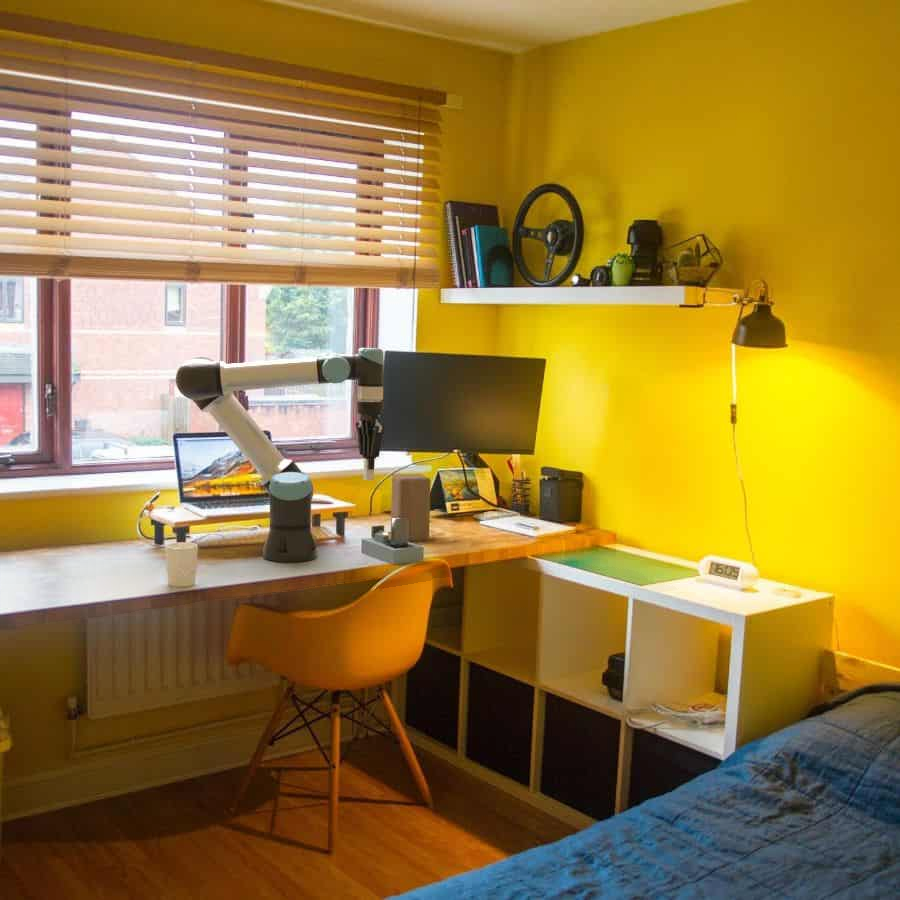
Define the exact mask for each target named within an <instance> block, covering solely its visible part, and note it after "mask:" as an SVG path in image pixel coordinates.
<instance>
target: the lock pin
mask: <svg viewBox="0 0 900 900" xmlns="http://www.w3.org/2000/svg"><path fill="white" fill-rule="evenodd" d="M388 532H389V531H385V525H380V524H379V525H371V535H370V536H371V537H370V538H374V536H375V533H381V534H384V535H387V536H388V542H391V533H388Z"/></svg>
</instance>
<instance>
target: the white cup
mask: <svg viewBox="0 0 900 900" xmlns="http://www.w3.org/2000/svg"><path fill="white" fill-rule="evenodd" d="M165 561H166V575H167V585H168V586H170V587H175V588H176V587H177V588H184V587H191V586H194V585H195V584H196V577H197V576H196V575H197V565H198V564H197V563H198V544H197V543H196V542H195V543H194V542H185V541H180V542H170V543H167V544H165Z"/></svg>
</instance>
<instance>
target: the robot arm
mask: <svg viewBox="0 0 900 900" xmlns="http://www.w3.org/2000/svg"><path fill="white" fill-rule="evenodd" d="M384 363H385V359H384V351H383V349H381V348H378V347H377V348H376V347H360V348H358V352H357V353H356V354H344V353H343V354H342V353H320V354H318V355H317V356H315V357H302V358H291V359H290V358H289V359H276V360H266V361H255V362H254V361H253V362H242V363H241V362H238V363H228V364H227V363H225V362H224V361H222V360H220V361H218V360H216V361H215V360H213V359H212V358H208V357H206V356H205V357H202V356H200V357H195V358H192V359H190V360H187V361H185V362H184V363H183V364H181V365H180V367H179V368H178V370H177V372H176V376H175V385H176V387H177V389H178V391H179V393H180V394H181V395H183V397H185V398H187V399H189V400H192V401H193V403H194V404H195V405H196V407H198V408H199V410H200V411H201V412H204V413H209V414H210V415H211V416H212V418H214V420H215V421H216V422H217V423H218V425H219V426H220V427H221V429H222V430H223V431H224V432H225V433H226V434H227V436H228V438H230V440H231V441H232V442H233V443H234V445H235V446H236V448H238V449H239V451H240V452H241V453H242V455H243V456H244V457H245V458H246V459H247V460H248V462H249V463H250V464H251V466H252V467H253V469H255V471H257V474H259V476H260V478H261V481H260V484H261V486H262V487H263V489H264V490H265V491H266V492H267V494H268V495H269V531H268V534H267V537H266V539H265V543H264V546H263V549H262V554H263V555H262V557H263V559H265V560H267V561H271V562H272V561H273V562H279V563H280V562H281V563H282V562H283V563H297V562H298V563H299V562H307V561H312V560H314V559H316V558H317V556H318V549H317V545H316V542H315V539H314V536H313V533H312V500H313V496H314V484H313V482H312V479H311V477H310V476H309V475H308V474H306V473H305V472H304V471H302V470H301V469H300V467H299V466H298V465H297V464H296V463H295V461H294V460H293V459H288V458H285V457H284V456H283V455H282V454H281V452H280V451H279V449H277V448H276V446H275V444H273V442H272V441H271V440H270V439H269V437H268V436H267V435H266V433H265V432H264V431H263V430H262V429H261V427H260V426H259V425H258V423H256V421H255V420H254V419H253V417H252V416H251V415H250V414H249V412H248V411H247V410H246V408H245V407H244V406H243V405H242V403H240V401H239V400H238V398H237V397H236V396H235V394H234V392H237V391H239V392H241V391H251V390H262V389H272V388H273V389H274V388H285V387H286V388H287V387H295V386H296V387H297V386H306V385H308V386H309V385H318V384H322V385H323V384H339V383H343V382H345V381H357V395H356V397H357V400H358V401H357V402H356V403H357V404H356V407H357V410H356V411H357V412H356V413H357V414H358V415H360V418H359V419H360V421H359V422H356V423H355V427H356V431H357V432H356V433H357V441H358V450H359V455H360V456H362V458H363V480H364V481H366V482H367V481H374V480H375V460H376V458H379V457H380V453H381V447H382V445H381V444H382V438H383V434H384V431H385V426H384V425H381V423H380V422H381V420H380V415H382V414H383V413H384V402H383V401H382V400H383V399H384V375H385V373H384V368H385V364H384Z"/></svg>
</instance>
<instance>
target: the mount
mask: <svg viewBox="0 0 900 900" xmlns="http://www.w3.org/2000/svg"><path fill="white" fill-rule="evenodd" d="M387 532H388V533H391V531H387ZM360 548H361V553H362V554H365V555H367V556H370V557H373V558H376V559H377V560H380V561H383V562H385V563H387V564H388V563H389V564H392V565H400V564H407V563H408V564H409V563H417V562H416V561H418V562H421V561H420V560H423V561H424V556H425V555H424V554H425V553H424V552H425V551H424V546H422V545H419V544H416V543H414V542H408V547H406V548H397V549H395V548H392V547H391V542H388V536H387V535H384V534H381V533H375V536H374V538H373V537H365V538H361V547H360Z"/></svg>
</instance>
